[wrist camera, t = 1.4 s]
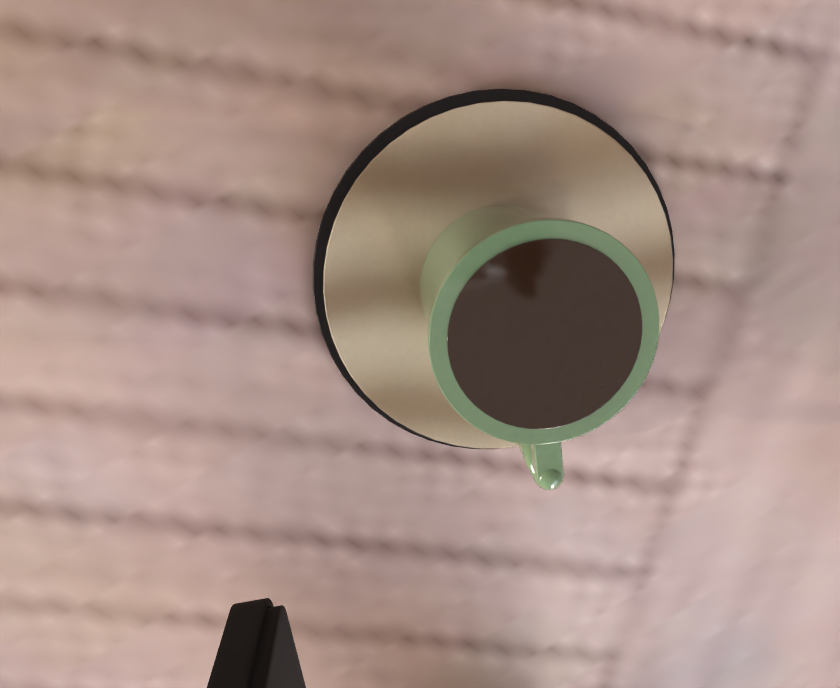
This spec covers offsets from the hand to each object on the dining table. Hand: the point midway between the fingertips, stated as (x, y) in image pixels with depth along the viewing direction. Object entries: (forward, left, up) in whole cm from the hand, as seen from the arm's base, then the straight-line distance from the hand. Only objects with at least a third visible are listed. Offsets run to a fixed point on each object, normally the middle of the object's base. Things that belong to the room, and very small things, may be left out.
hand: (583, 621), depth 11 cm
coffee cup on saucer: (+2, +2, -21) cm, 21 cm away
